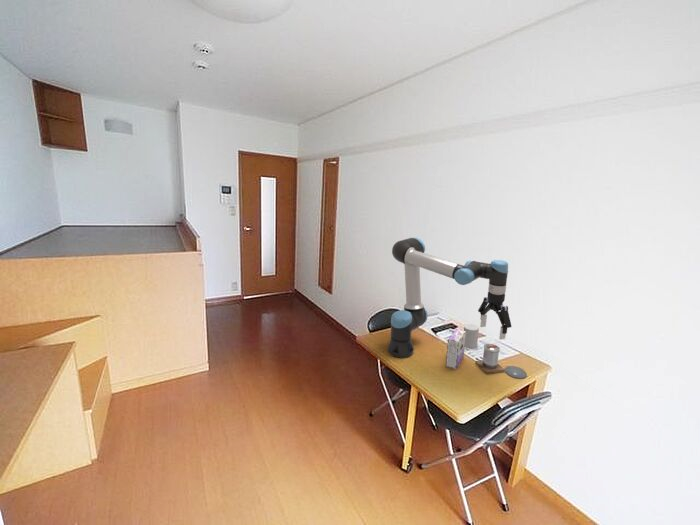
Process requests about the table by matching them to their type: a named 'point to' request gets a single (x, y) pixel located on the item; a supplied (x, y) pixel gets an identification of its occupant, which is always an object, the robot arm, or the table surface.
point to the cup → (471, 336)
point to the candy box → (455, 348)
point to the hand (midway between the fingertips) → (492, 332)
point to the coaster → (515, 372)
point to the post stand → (489, 367)
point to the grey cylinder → (491, 354)
